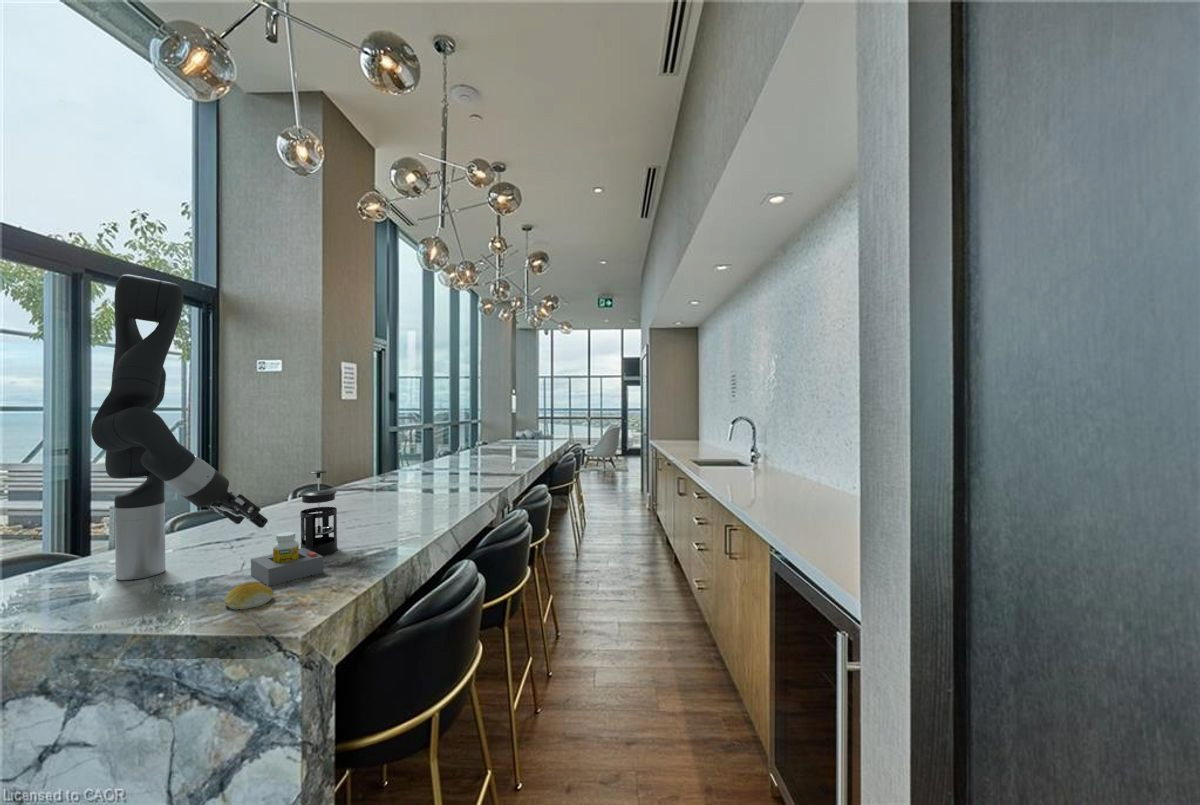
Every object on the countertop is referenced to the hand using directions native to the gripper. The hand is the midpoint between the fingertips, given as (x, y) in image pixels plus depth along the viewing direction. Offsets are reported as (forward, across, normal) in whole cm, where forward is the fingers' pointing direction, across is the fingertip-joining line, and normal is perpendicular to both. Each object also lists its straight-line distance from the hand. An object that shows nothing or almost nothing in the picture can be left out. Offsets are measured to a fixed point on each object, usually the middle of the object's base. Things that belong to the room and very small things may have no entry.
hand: (252, 522), depth 120 cm
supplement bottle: (+16, 0, +5) cm, 16 cm away
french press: (+27, +8, -6) cm, 28 cm away
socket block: (+16, 0, +4) cm, 17 cm away
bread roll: (+6, -10, +15) cm, 19 cm away
